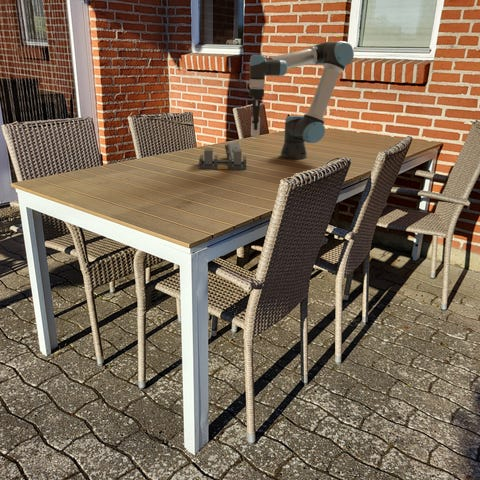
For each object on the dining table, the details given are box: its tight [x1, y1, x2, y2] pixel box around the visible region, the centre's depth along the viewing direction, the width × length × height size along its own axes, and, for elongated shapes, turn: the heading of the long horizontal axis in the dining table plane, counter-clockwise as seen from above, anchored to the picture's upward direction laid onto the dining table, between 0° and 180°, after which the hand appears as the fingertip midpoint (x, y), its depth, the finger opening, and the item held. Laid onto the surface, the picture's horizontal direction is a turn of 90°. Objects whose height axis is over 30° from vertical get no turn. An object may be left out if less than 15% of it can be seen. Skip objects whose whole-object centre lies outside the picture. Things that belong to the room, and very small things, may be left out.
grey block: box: [250, 115, 261, 138], centre depth 243 cm, size 4×8×9 cm, turn 1°
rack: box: [198, 147, 247, 171], centre depth 247 cm, size 24×14×9 cm, turn 90°
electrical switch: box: [224, 140, 241, 161], centre depth 267 cm, size 9×5×9 cm, turn 141°
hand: (254, 134), depth 244 cm, fingers closed on grey block, 8 cm apart
